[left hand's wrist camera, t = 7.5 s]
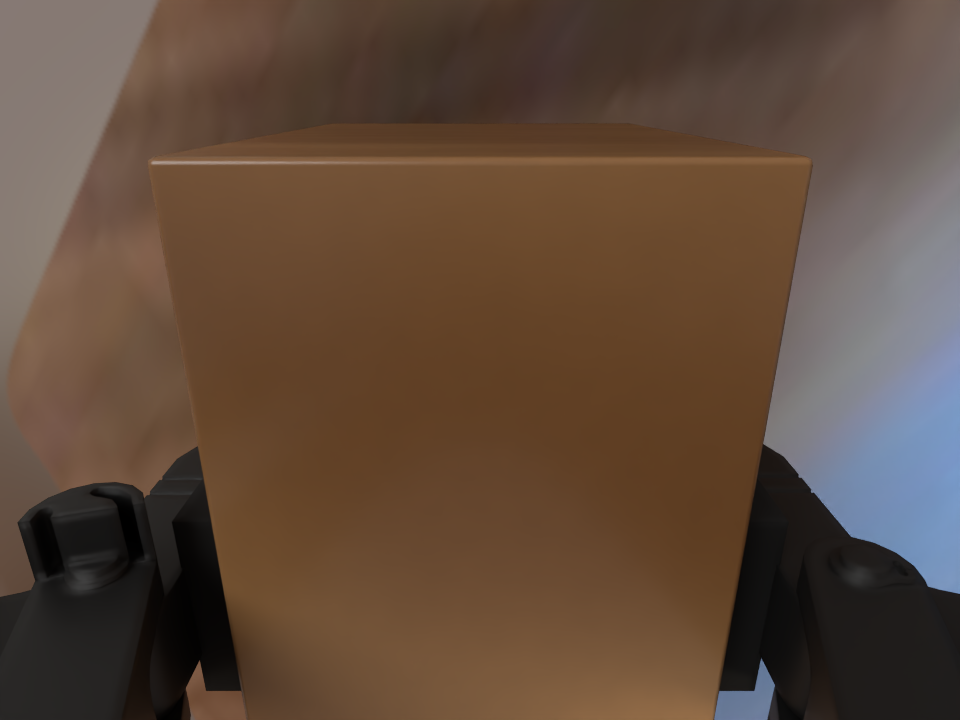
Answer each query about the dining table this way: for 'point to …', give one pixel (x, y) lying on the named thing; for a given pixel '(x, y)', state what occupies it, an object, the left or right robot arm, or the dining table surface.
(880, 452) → the dining table surface
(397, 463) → the beam
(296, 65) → the dining table surface
